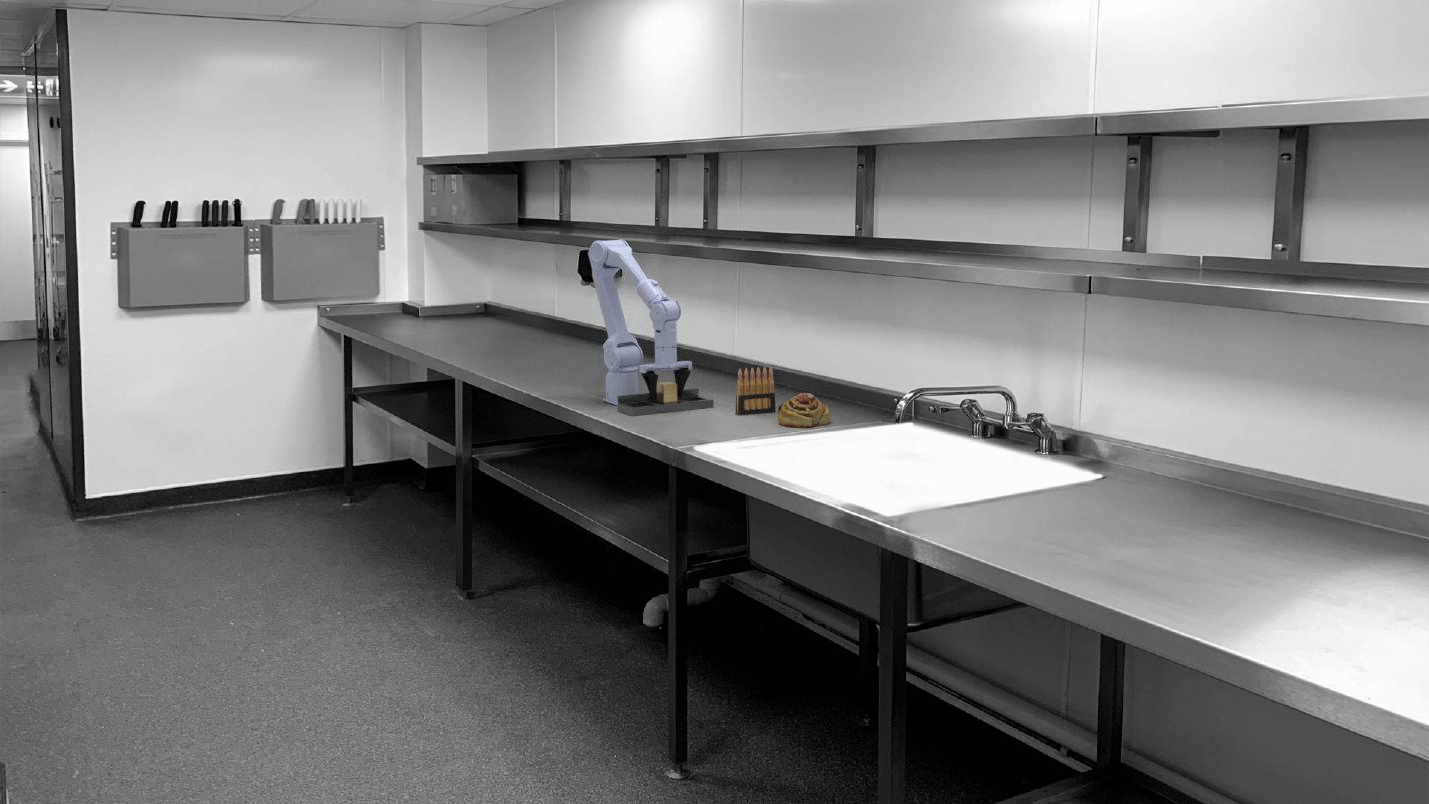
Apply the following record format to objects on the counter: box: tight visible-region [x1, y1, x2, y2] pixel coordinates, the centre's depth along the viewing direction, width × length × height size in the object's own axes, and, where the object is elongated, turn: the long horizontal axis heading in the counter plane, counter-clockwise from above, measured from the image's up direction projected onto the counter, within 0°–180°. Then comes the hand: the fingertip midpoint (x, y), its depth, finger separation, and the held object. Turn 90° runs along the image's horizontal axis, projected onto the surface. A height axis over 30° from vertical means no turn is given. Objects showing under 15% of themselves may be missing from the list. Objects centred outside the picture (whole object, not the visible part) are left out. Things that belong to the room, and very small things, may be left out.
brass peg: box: [657, 381, 677, 404], centre depth 316 cm, size 4×4×7 cm
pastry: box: [777, 392, 831, 429], centre depth 297 cm, size 13×15×8 cm
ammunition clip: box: [735, 366, 777, 416], centre depth 309 cm, size 11×2×12 cm, turn 113°
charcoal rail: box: [617, 387, 715, 417], centre depth 316 cm, size 9×24×4 cm, turn 120°
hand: (666, 398), depth 316 cm, fingers open, 7 cm apart
